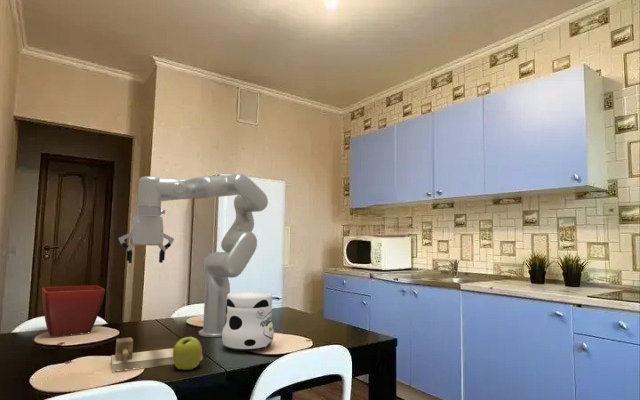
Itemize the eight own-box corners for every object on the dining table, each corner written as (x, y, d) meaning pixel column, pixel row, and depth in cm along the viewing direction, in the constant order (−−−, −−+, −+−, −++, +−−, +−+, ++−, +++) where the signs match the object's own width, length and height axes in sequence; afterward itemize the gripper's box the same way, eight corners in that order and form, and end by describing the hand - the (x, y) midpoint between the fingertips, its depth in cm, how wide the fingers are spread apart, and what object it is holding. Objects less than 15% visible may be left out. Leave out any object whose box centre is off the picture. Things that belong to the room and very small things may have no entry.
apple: (192, 357, 116) (198, 326, 115) (203, 372, 110) (209, 339, 109) (165, 362, 111) (171, 330, 110) (175, 378, 105) (181, 344, 104)
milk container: (281, 351, 128) (282, 295, 130) (229, 358, 120) (232, 298, 122) (262, 339, 143) (264, 290, 145) (215, 344, 135) (218, 292, 137)
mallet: (130, 354, 115) (131, 337, 115) (133, 363, 106) (134, 344, 107) (115, 356, 113) (116, 338, 113) (117, 365, 104) (118, 346, 105)
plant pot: (93, 325, 163) (96, 284, 164) (102, 334, 148) (105, 289, 150) (37, 331, 151) (41, 287, 153) (40, 341, 136) (45, 292, 138)
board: (194, 352, 126) (194, 345, 126) (202, 360, 117) (202, 353, 117) (110, 362, 113) (111, 355, 114) (112, 372, 105) (113, 364, 105)
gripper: (173, 214, 141) (170, 261, 139) (119, 211, 132) (116, 262, 130) (177, 213, 134) (174, 263, 132) (121, 210, 126) (117, 263, 124)
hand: (145, 262), depth 131 cm, fingers open, 9 cm apart
